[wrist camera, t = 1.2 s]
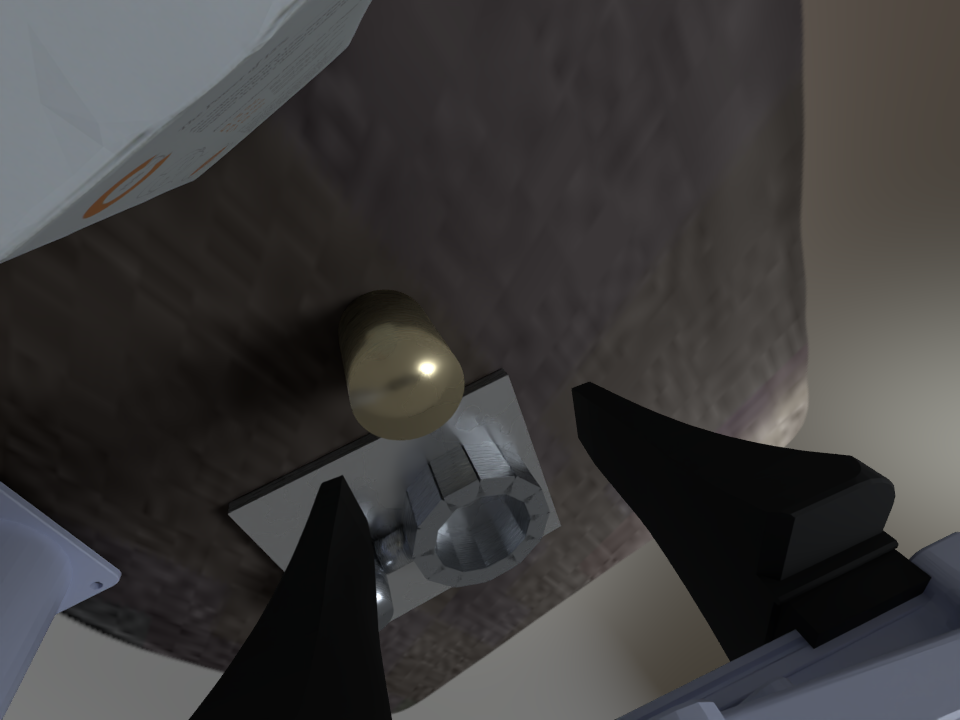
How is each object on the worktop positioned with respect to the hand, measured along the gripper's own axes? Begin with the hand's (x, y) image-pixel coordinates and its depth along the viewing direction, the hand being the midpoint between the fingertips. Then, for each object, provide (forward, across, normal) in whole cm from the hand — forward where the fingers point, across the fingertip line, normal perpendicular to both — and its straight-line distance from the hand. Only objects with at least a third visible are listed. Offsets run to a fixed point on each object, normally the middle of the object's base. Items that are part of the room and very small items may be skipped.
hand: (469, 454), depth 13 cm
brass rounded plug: (+10, +2, 0) cm, 11 cm away
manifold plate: (+10, +3, +12) cm, 16 cm away
